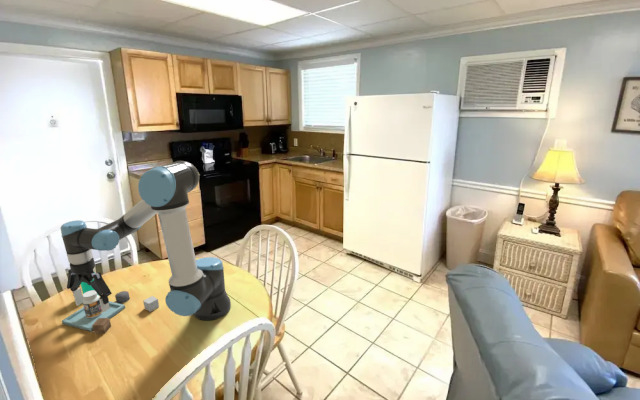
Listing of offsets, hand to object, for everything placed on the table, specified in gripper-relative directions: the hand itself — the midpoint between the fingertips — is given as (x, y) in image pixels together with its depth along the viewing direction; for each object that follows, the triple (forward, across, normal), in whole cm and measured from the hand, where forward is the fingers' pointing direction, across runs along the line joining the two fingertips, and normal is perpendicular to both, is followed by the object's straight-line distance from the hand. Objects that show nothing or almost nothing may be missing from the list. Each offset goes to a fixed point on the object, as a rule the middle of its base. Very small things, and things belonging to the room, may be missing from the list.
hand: (93, 306), depth 126 cm
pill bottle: (+4, 0, 0) cm, 4 cm away
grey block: (+4, -18, -11) cm, 22 cm away
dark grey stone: (+4, -2, -12) cm, 12 cm away
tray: (+4, 0, 0) cm, 4 cm away
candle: (+4, +14, -10) cm, 18 cm away
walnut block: (+4, -10, +6) cm, 13 cm away
